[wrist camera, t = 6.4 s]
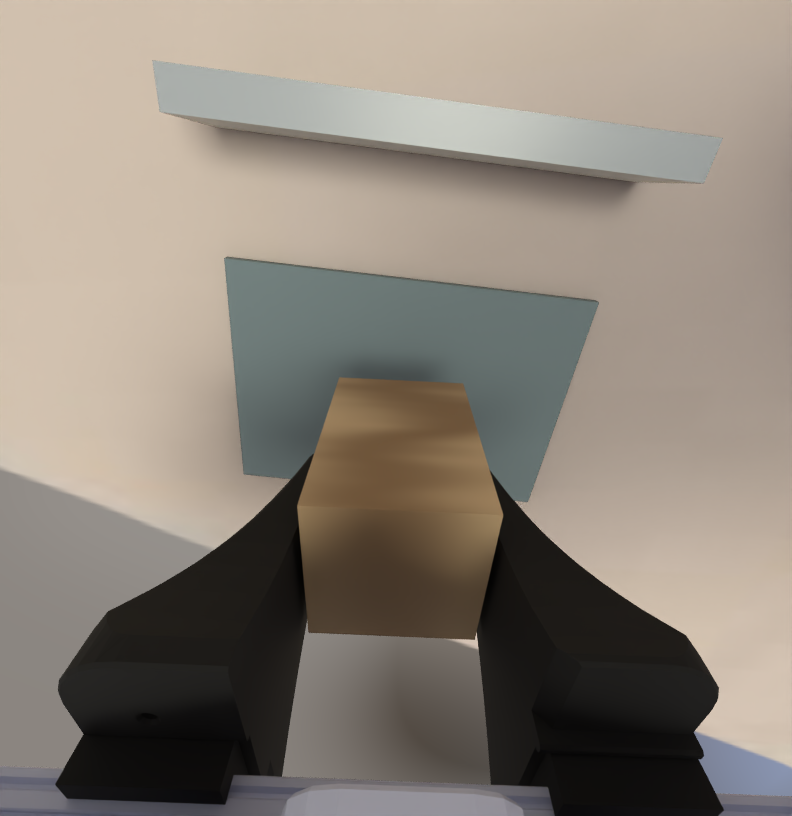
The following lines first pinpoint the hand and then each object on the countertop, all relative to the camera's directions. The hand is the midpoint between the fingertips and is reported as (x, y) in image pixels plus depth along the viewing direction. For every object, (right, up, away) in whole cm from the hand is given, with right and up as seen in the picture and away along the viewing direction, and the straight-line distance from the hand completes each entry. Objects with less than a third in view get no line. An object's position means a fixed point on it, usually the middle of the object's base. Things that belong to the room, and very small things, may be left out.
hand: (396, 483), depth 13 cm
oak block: (0, +2, +1) cm, 2 cm away
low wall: (+1, +11, +1) cm, 11 cm away
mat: (0, +3, +5) cm, 6 cm away
